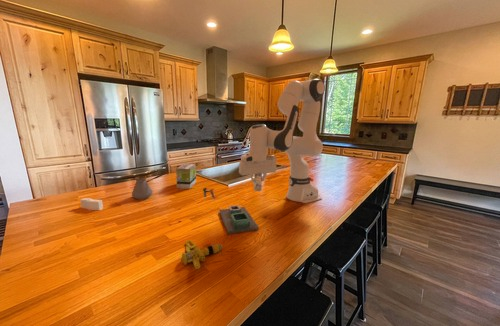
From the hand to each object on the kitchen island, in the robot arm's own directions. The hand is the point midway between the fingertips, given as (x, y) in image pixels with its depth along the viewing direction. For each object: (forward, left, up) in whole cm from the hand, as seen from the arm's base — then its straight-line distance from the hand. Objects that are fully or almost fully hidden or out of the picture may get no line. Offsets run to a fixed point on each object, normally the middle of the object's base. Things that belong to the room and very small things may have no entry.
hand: (257, 181), depth 109 cm
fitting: (0, 0, -5) cm, 5 cm away
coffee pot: (+57, -37, -17) cm, 70 cm away
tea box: (+35, -53, -17) cm, 66 cm away
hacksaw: (+20, -30, -17) cm, 40 cm away
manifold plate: (+13, +8, -17) cm, 23 cm away
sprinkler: (+33, +29, -17) cm, 47 cm away
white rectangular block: (+86, -27, -17) cm, 91 cm away
